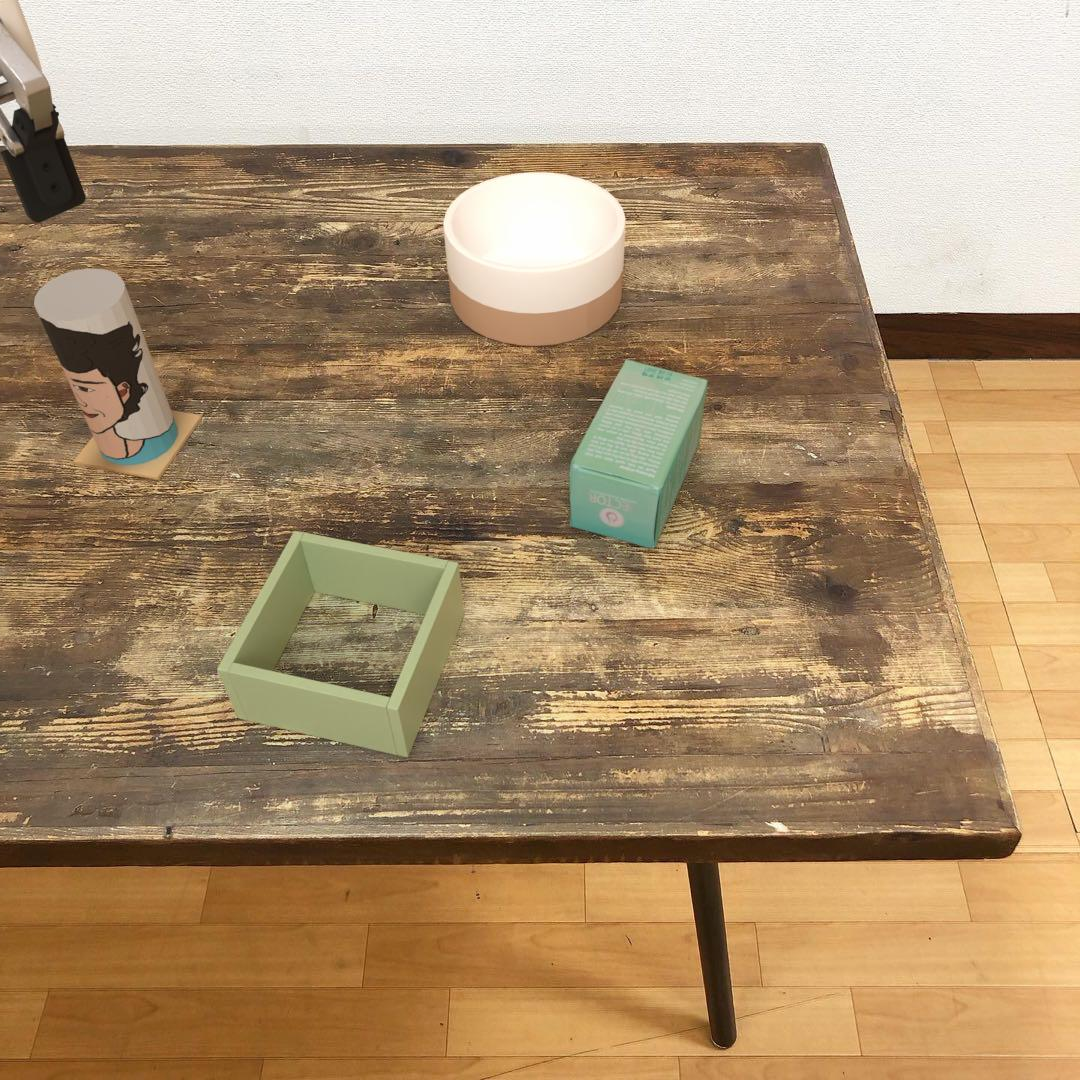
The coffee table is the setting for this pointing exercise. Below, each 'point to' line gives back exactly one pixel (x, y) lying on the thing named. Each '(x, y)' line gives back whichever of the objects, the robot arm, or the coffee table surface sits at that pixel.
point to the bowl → (535, 257)
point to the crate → (356, 578)
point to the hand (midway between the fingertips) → (16, 178)
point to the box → (636, 453)
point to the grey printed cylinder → (107, 364)
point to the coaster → (151, 468)
